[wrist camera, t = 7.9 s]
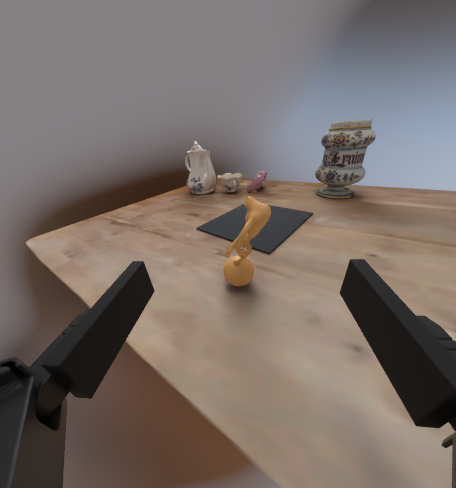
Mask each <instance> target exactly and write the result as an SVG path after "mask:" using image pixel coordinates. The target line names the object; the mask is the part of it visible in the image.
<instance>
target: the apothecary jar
mask: <svg viewBox="0 0 456 488" xmlns="http://www.w3.org/2000/svg"><path fill="white" fill-rule="evenodd" d="M371 123H372V120H371V119H366V120H353V121H340V122H332V124H331V127H330V129H329V132H327V133H326V134H325V135H324V136H323V137H322V141H321V143H322V145H323V146H324V147H325V151H324V157H323V162H322V165H321V166H320V167H319V168H318V169H317V170H316V173H315V175H316V178H317V179H318V180H319V181H320V182H322V183H324V184H327V185H328V187H324V188H321V189H319V190H317V192H316V193H317V194H318V195H319V196H323V197H327V198H338V199H342V198H350V197H352V195H355V193H354V192H353V191H351V190H350V189H348V188H345V187H344V186H345V185H350V184H354V183H357V182H359V181H360V180H361V179H363V177H364V175H365V169H364V168H363V167H362V163H363V159H364V155H365V152H366V149H367V146H368V145H370V144H371V143H373V141H374V140H375V137H376V134H375V132H374V131H373V130H372V129H371Z"/></svg>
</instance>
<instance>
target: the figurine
mask: <svg viewBox="0 0 456 488" xmlns="http://www.w3.org/2000/svg"><path fill="white" fill-rule="evenodd" d="M245 201H246V202H245V203H244V205H245V207H246V208H247V210H248V211H247V214H246V216H245V221H246V224H245V226H244V228H243V230H242V231H241V232H240V234H239V236H238V237H237V238H236V239H235V240H234V241H233V243H232V245H231V246H230V248H228V249H227V250H228V251H227V252H226V254H227V255H226V254H225V255H226V257H227V256H228V257H229V255H230V253H231V251H232V250H233V248H234V247H235V249H236V250H237V252H238V253H239V256H233V257H231V258H230V259H228V260H227V262H226V263H225V265H224V269H223V273H224V277H225V279H226V280H227V281H228V282H229V283H230V284H232V285H234V286H244V285H246V284H247V283H249V282H250V281H251V279H252V277H253V274H254V268H253V265H252V263H251V261H250V260H249V259H248V258H246V257H247V256H248V255H249V254H250V253H251V248H252V246H251V244H250V243H249V242H250V240H251V239H252V238H254V237H255V236H256V235H258V234H259V232H260V229H262V228H263V227H264V225H265V224H266V223H267V222H268V220H269V218H270V216H271V210H270V207H269V206H268V205H266V204H263V203H260V202H258V201H256V200H255V199H254V198H252V197H250V196H249V197H247V198H246V199H245ZM243 246H245V247H246V248H247V249H248V251H247V252H246V253H245V251H244V250H242V249H240V248H242V247H243ZM228 257H227V258H228Z"/></svg>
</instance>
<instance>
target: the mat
mask: <svg viewBox="0 0 456 488" xmlns="http://www.w3.org/2000/svg"><path fill="white" fill-rule="evenodd" d="M268 206H269V207H270V210H271V216H270V218H269V220H268V222H267V223H266V224H265V225H264V227H263V228H262V229H260V232H259V234H258V235H256V236H255V237H254V238H252V239H251V240H250V242H249V243H250V244H251V246H252V248H253V249H256V250H258V251H261V252H264V253H267V254H270V253H271V252H272V251H273V250H275V249H276V248H277V247H278V246H279V245H280V244H281V243H282V242H283V241H284V240H285V239H286V238H287V237H289V236H290V235H291V234H292V233H293V232H294V231H295V230H296V229H297V228H298V227H299V226H300V225H301V224H303V223H304V222H305V221H306V220H307V219H308V218H309V217H310V216H311V215H312V214H313V213H311V212H305V211H299V210H293V209H288V208H282V207H276V206H270V205H268ZM247 211H248V210H247V208H246V207H245V205H244V204H243V205H241V206H239V207H237V208H235V209H233V210H231V211H229V212H227V213H225V214H223V215H221V216H219V217H217V218H215V219H213V220H211V221H209V222H207V223H205V224H203V225H201V226H199V227H197V229H198V230H201V231H204V232H207V233H209V234H212V235H215V236H218V237H221V238H224V239H227V240H230V241H234V240H235V239H236V238H237V237H238V236H239V234H240V232H241V231H242V230H243V228H244V226H245V224H246V221H245V216H246V214H247Z"/></svg>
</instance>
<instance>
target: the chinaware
mask: <svg viewBox="0 0 456 488" xmlns="http://www.w3.org/2000/svg"><path fill="white" fill-rule="evenodd" d="M188 155H189V157H190V162H191V169H190V168H189V166H188V162H187V157H188ZM185 164H186V167H187V168H188V170H189V171H190V175H189V178H188V180H187V186H188V187H189V189H190V190H192V192H191V193H192V194H207V193H211V192H213V191H214V187H215V186H216V184H217V181H216V177H215V172H214V169H213V166H212V163H211V160H210V150H208V151H207V152H206V150H203V149H202V147H201V146H199V145H198V143H197V142H196V141H195V142H194V146H193V147H192V149H191V151H188V154H186V156H185ZM241 177H243V175H241V174H240V173H235V174H234V175H233V174H231V173H227V174H224V175H223V176H221V175H218V178H219V180H220V182H221V184H222V186H223V187H224V188H225V189H227V191H226V192H235V191H236V190H235V189H236V188H237V187H238V186H239V184H240V181H241Z"/></svg>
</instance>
